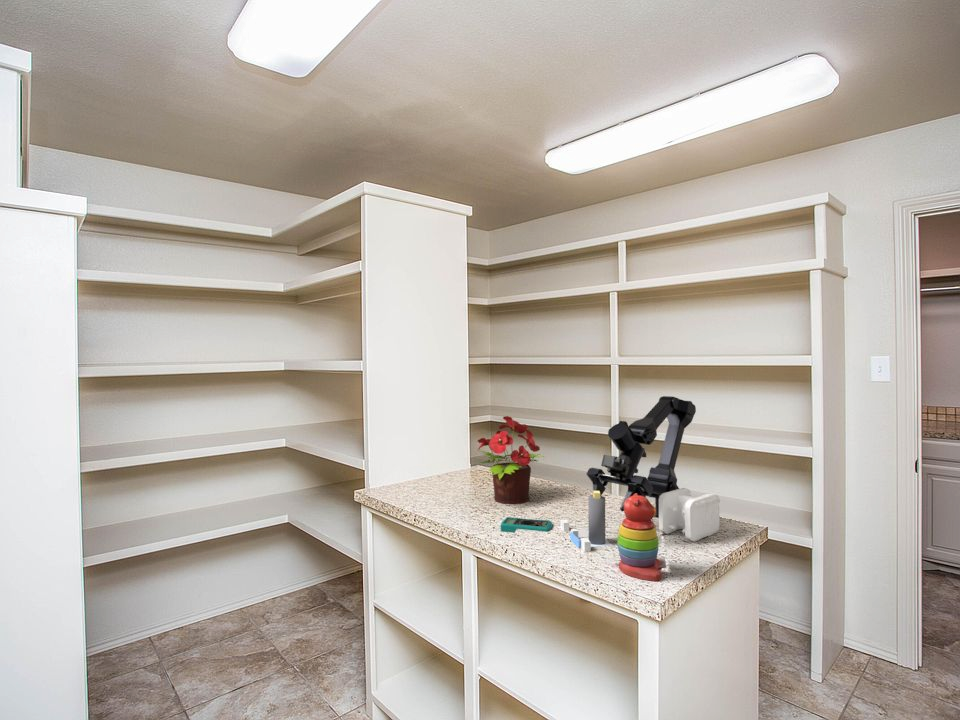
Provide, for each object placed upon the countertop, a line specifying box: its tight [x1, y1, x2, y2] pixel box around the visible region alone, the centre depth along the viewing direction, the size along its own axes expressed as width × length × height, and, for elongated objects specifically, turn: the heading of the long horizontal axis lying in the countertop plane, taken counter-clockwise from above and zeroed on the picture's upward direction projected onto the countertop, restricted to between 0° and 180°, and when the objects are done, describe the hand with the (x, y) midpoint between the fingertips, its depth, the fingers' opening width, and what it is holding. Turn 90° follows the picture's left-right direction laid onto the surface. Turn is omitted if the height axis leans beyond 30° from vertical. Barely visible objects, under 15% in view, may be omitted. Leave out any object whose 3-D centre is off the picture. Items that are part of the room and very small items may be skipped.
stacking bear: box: [617, 493, 663, 582], centre depth 124 cm, size 11×10×18 cm
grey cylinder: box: [587, 490, 606, 545], centre depth 140 cm, size 4×4×14 cm
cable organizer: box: [658, 487, 721, 543], centre depth 149 cm, size 15×11×12 cm
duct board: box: [560, 519, 613, 553], centre depth 144 cm, size 20×13×4 cm, turn 10°
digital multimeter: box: [500, 516, 553, 533], centre depth 155 cm, size 7×15×3 cm, turn 73°
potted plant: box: [474, 415, 547, 505], centre depth 190 cm, size 30×27×30 cm
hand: (606, 507), depth 143 cm, fingers open, 9 cm apart
